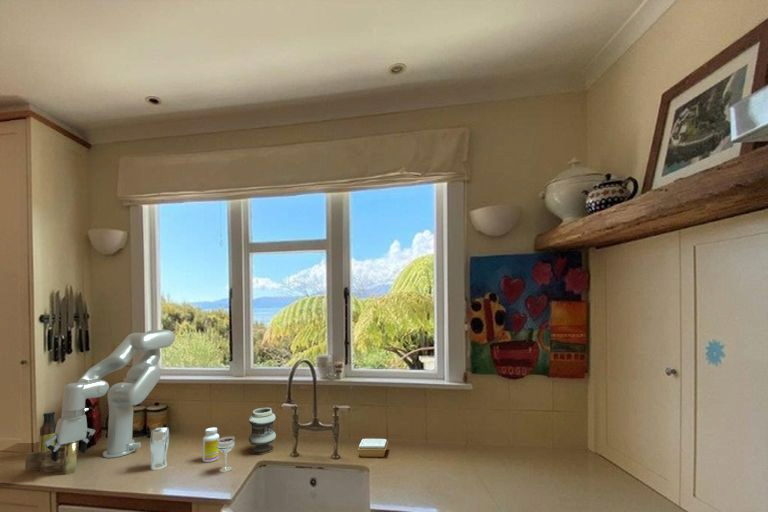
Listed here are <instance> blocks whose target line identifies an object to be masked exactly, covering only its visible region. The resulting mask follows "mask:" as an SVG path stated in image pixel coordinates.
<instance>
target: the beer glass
mask: <svg viewBox="0 0 768 512" xmlns="http://www.w3.org/2000/svg"><path fill="white" fill-rule="evenodd" d="M149 441H150V442H149V447H150V454H151V464H150V468H149V469H150V470H152V471H157V470H161V469H164V468H165V467H167V466H168V462H167V453H168V448H169V445H170V444H169V442H170V429H169V427H167V426H166V427H157V428H154V429H152V430H151V432H150V439H149Z"/></svg>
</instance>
